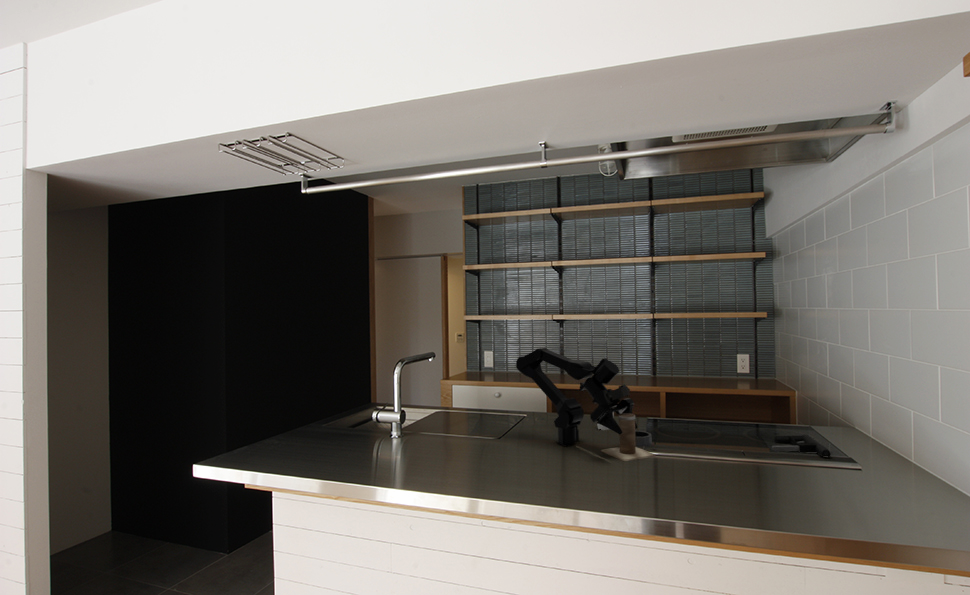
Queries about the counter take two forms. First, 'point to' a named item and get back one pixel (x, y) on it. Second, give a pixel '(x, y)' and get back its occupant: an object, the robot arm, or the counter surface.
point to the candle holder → (643, 439)
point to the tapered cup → (627, 433)
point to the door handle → (800, 444)
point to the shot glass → (603, 426)
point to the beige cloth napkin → (627, 457)
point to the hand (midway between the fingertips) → (629, 430)
